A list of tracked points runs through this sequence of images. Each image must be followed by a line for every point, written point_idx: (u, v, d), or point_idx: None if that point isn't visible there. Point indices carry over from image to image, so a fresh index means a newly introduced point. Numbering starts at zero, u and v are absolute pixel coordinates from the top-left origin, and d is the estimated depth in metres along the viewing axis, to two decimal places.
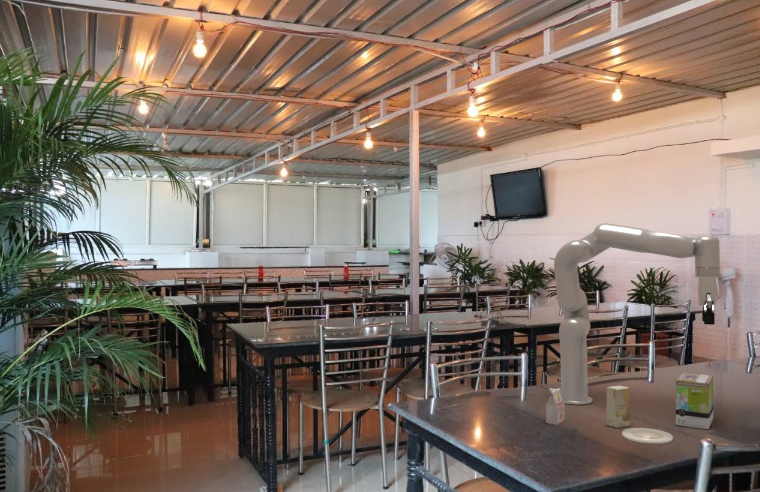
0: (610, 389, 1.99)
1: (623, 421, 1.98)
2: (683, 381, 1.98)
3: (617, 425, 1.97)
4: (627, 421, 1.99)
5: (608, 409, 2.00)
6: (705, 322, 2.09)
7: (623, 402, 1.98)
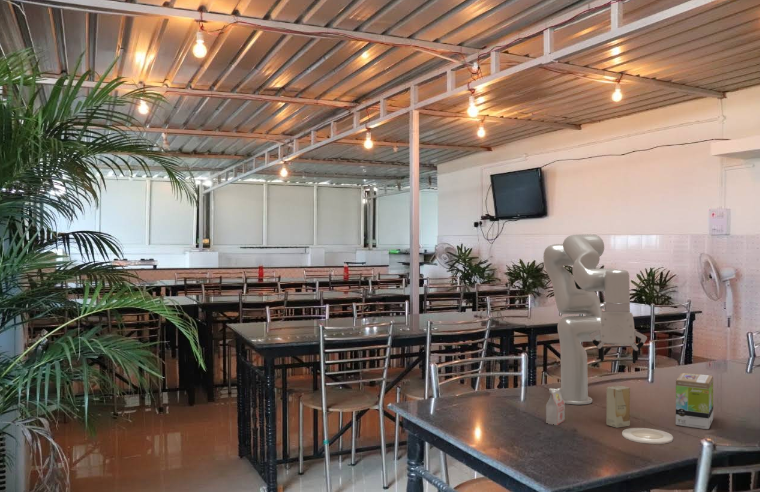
0: (610, 389, 1.99)
1: (623, 421, 1.98)
2: (683, 381, 1.98)
3: (617, 425, 1.97)
4: (627, 421, 1.99)
5: (608, 409, 2.00)
6: (635, 361, 1.97)
7: (623, 402, 1.98)
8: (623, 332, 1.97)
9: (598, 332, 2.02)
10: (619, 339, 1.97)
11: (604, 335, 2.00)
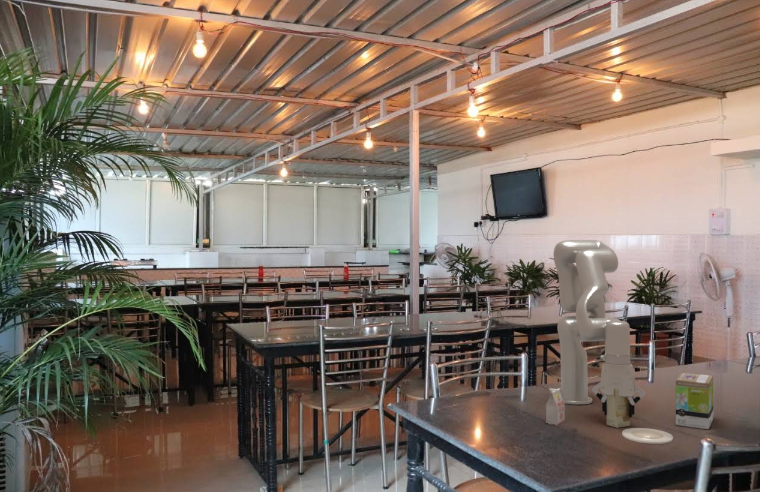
0: None
1: (623, 421, 1.98)
2: (683, 381, 1.98)
3: (618, 425, 1.97)
4: (627, 421, 1.99)
5: (608, 409, 2.00)
6: (631, 415, 1.97)
7: (623, 402, 1.98)
8: (623, 384, 1.97)
9: (599, 385, 2.02)
10: (619, 391, 1.97)
11: (604, 387, 1.99)
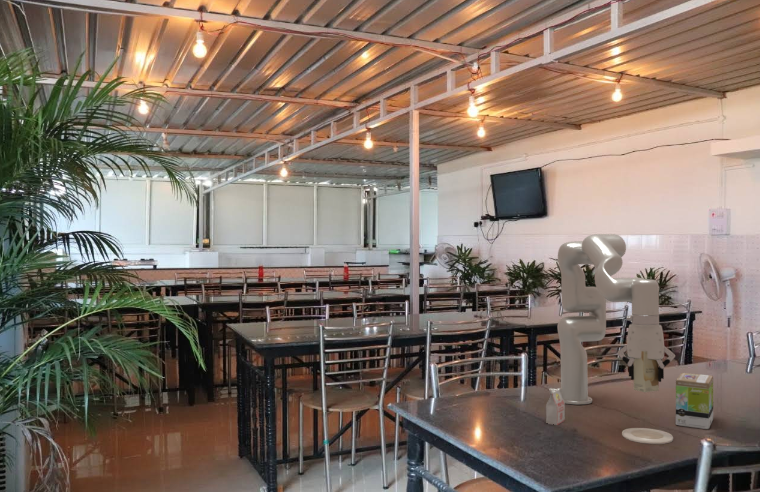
0: None
1: (652, 385, 1.85)
2: (683, 381, 1.98)
3: (646, 390, 1.84)
4: (656, 386, 1.86)
5: (635, 373, 1.87)
6: (660, 379, 1.85)
7: (652, 365, 1.85)
8: (652, 346, 1.84)
9: (626, 348, 1.89)
10: (648, 354, 1.85)
11: (631, 349, 1.87)
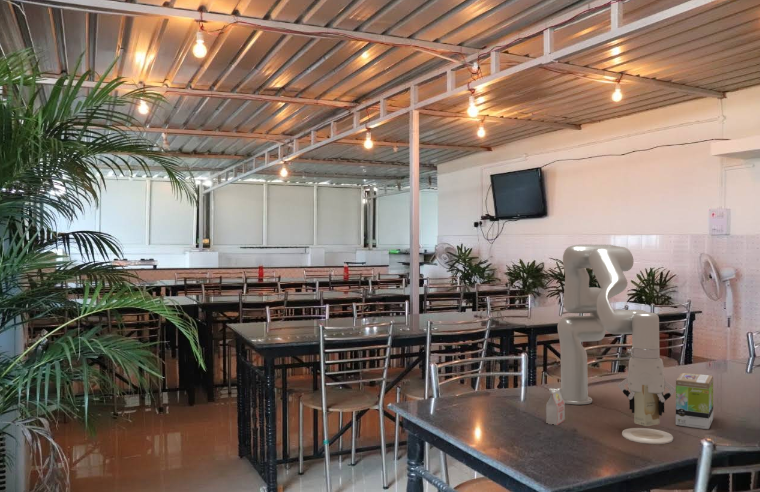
0: None
1: (653, 419, 1.85)
2: (683, 381, 1.98)
3: (647, 423, 1.84)
4: (657, 419, 1.86)
5: (636, 406, 1.87)
6: (661, 413, 1.84)
7: (652, 398, 1.85)
8: (653, 380, 1.84)
9: (626, 380, 1.89)
10: (648, 387, 1.84)
11: (632, 383, 1.87)
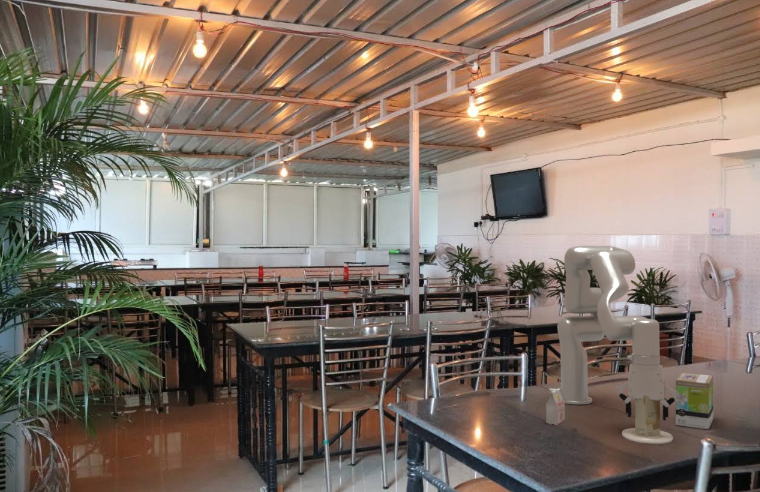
0: None
1: (654, 429, 1.85)
2: (683, 381, 1.98)
3: (648, 434, 1.84)
4: (658, 429, 1.86)
5: (637, 417, 1.87)
6: (665, 418, 1.84)
7: (653, 409, 1.85)
8: (653, 387, 1.84)
9: (625, 385, 1.89)
10: (648, 394, 1.84)
11: (632, 389, 1.86)
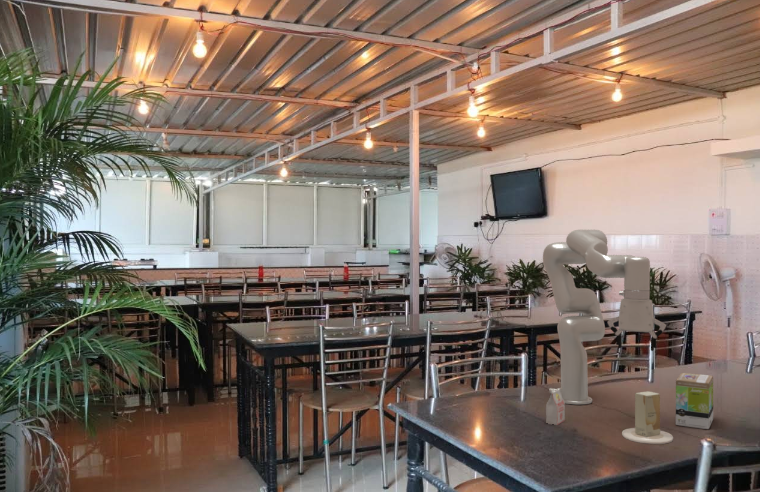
0: (639, 395, 1.86)
1: (654, 429, 1.85)
2: (683, 381, 1.98)
3: (648, 434, 1.84)
4: (658, 429, 1.86)
5: (637, 417, 1.87)
6: (653, 348, 1.96)
7: (653, 409, 1.85)
8: (642, 319, 1.96)
9: (616, 319, 2.01)
10: (638, 326, 1.96)
11: (622, 322, 1.99)
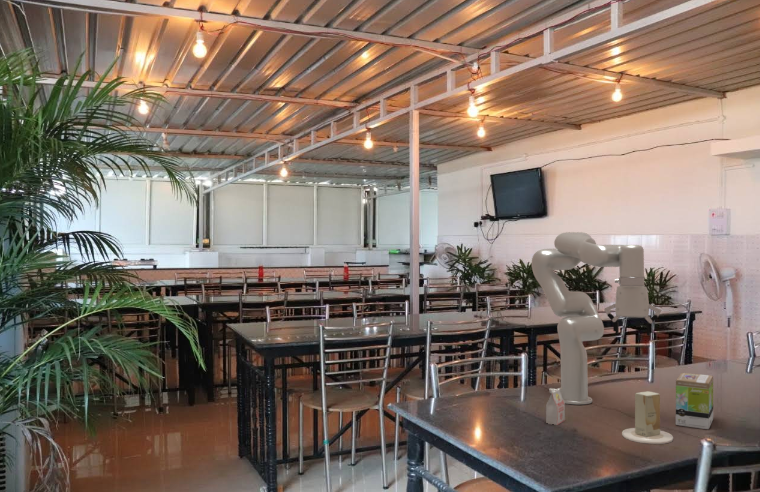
0: (639, 395, 1.86)
1: (654, 429, 1.85)
2: (683, 381, 1.98)
3: (648, 434, 1.84)
4: (658, 429, 1.86)
5: (637, 417, 1.87)
6: (649, 333, 2.02)
7: (653, 409, 1.85)
8: (638, 305, 2.02)
9: (613, 306, 2.08)
10: (634, 312, 2.03)
11: (619, 308, 2.05)
